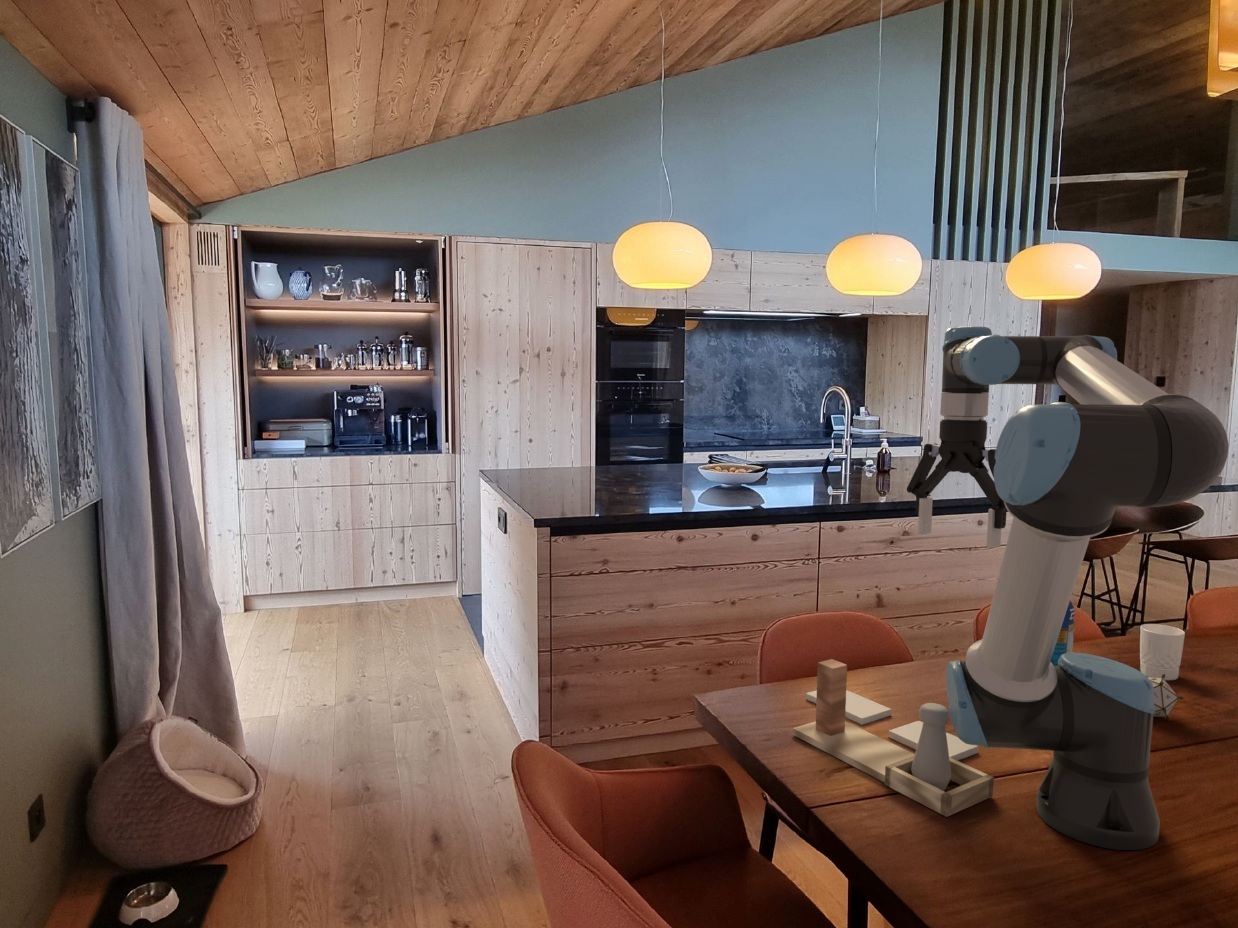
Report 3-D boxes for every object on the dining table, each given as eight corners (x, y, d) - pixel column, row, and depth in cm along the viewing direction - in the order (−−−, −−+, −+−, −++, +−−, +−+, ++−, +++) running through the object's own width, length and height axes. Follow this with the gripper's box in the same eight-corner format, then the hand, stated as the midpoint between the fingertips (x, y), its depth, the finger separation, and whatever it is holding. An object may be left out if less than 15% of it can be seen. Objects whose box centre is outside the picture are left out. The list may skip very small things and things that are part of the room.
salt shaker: (909, 792, 125) (913, 710, 124) (910, 775, 130) (914, 696, 129) (951, 799, 123) (955, 716, 122) (950, 781, 128) (954, 701, 127)
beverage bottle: (1019, 665, 180) (1024, 576, 178) (1049, 661, 183) (1055, 573, 181) (1049, 678, 172) (1055, 585, 170) (1081, 674, 175) (1087, 582, 173)
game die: (1159, 740, 152) (1180, 712, 145) (1110, 713, 156) (1129, 685, 149) (1174, 706, 156) (1196, 678, 150) (1127, 681, 161) (1145, 652, 154)
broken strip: (978, 752, 138) (978, 745, 138) (948, 764, 134) (948, 757, 134) (834, 690, 165) (834, 684, 165) (805, 698, 161) (806, 693, 161)
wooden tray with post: (992, 796, 123) (997, 711, 122) (946, 816, 118) (950, 728, 116) (834, 721, 150) (837, 651, 149) (790, 735, 144) (792, 662, 143)
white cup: (1128, 671, 177) (1132, 626, 176) (1151, 666, 180) (1155, 621, 179) (1166, 683, 170) (1169, 637, 169) (1189, 678, 173) (1193, 632, 172)
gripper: (1046, 421, 132) (1038, 550, 134) (916, 414, 153) (911, 526, 155) (1019, 422, 128) (1011, 555, 130) (889, 415, 149) (885, 530, 151)
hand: (957, 540), depth 143 cm, fingers open, 13 cm apart
